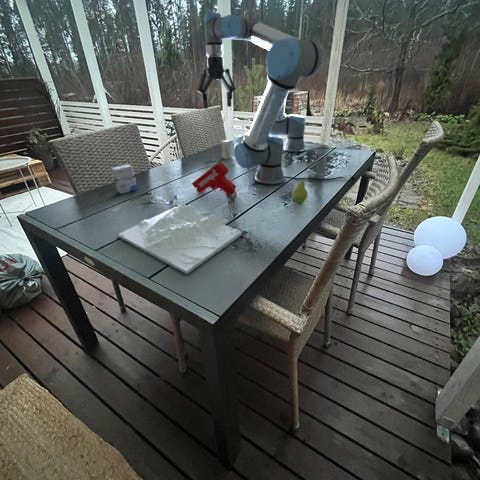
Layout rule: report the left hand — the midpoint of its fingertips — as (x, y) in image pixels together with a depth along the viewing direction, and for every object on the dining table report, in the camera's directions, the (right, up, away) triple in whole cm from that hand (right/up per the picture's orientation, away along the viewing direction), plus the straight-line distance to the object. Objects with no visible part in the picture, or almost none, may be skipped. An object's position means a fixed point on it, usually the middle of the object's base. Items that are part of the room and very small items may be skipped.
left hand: (217, 107), depth 137 cm
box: (+2, -12, +44) cm, 46 cm away
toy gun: (-1, -44, -6) cm, 45 cm away
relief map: (-10, -66, -39) cm, 77 cm away
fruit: (+38, -50, -15) cm, 64 cm away
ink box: (-45, -42, -2) cm, 62 cm away
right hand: (+38, +38, +73) cm, 91 cm away
